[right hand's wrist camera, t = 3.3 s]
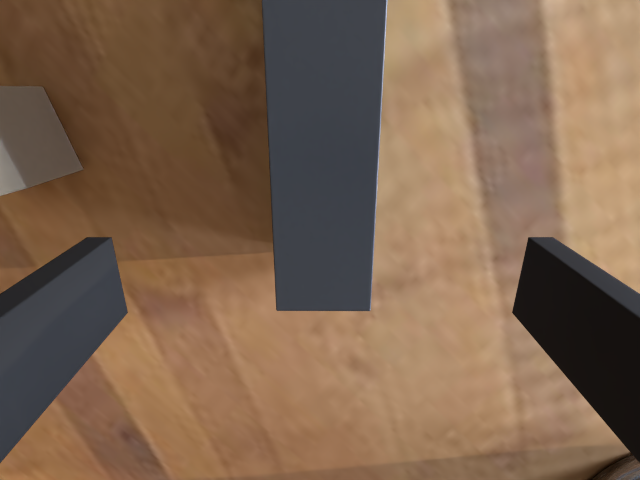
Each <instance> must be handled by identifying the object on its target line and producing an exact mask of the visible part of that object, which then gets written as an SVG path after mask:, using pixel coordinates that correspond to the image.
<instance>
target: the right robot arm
mask: <svg viewBox="0 0 640 480" xmlns="http://www.w3.org/2000/svg"><path fill="white" fill-rule="evenodd" d="M127 313H128V312H127V307H126V302H125V298H124V293H123V288H122V284H121V279H120V275H119V270H118V265H117V261H116V256H115V251H114V247H113V242H112V237H87V238H85V239H84V240H82V241H81V242H79V243H78V244H76V245H75V246H73V247H72V248H70V249H69V250H67V251H65V252H64V253H62V254H61V255H59V256H58V257H56V258H55V259H53V260H52V261H50V262H49V263H47V264H45V265H44V266H42V267H41V268H39V269H38V270H36V271H35V272H33V273H32V274H30V275H29V276H27V277H26V278H24V279H22V280H21V281H19V282H18V283H16V284H15V285H13V286H12V287H10V288H9V289H7V290H6V291H4V292H3V293H1V294H0V463H1V462H2V460H3V459H4V458H5V457H6V456H7V454H8V453H9V452H10V451H11V450H12V449H13V447H14V446H15V445H16V444H17V443H18V441H19V440H20V439H21V438H22V437H23V436H24V434H25V433H26V432H27V431H28V430H29V428H30V427H31V426H32V425H33V424H34V423H35V421H36V420H37V419H38V418H39V417H40V415H41V414H42V413H43V412H44V411H45V410H46V408H47V407H48V406H49V405H50V404H51V403H52V401H53V400H54V399H55V398H56V397H57V395H58V394H59V393H60V392H61V391H62V390H63V388H64V387H65V386H66V385H67V384H68V382H69V381H70V380H71V379H72V378H73V377H74V375H75V374H76V373H77V372H78V371H79V369H80V368H81V367H82V366H83V365H84V364H85V362H86V361H87V360H88V359H89V358H90V356H91V355H92V354H93V353H94V352H95V351H96V349H97V348H98V347H99V346H100V345H101V344H102V342H103V341H104V340H105V339H106V338H107V336H108V335H109V334H110V333H111V332H112V331H113V329H114V328H115V327H116V326H117V325H118V323H119V322H120V321H121V320H122V319H123V318H124V316H125V315H126V314H127ZM512 313H513V314H514V315H515V316H516V318H517V319H518V320H519V321H520V322H521V323H522V325H523V326H524V327H525V328H526V329H527V331H528V332H529V333H530V334H531V335H532V336H533V338H534V339H535V340H536V341H537V342H538V344H539V345H540V346H541V347H542V348H543V349H544V351H545V352H546V353H547V354H548V355H549V356H550V358H551V359H552V360H553V361H554V362H555V364H556V365H557V366H558V367H559V368H560V369H561V371H562V372H563V373H564V374H565V375H566V377H567V378H568V379H569V380H570V381H571V382H572V384H573V385H574V386H575V387H576V388H577V390H578V391H579V392H580V393H581V394H582V395H583V397H584V398H585V399H586V400H587V401H588V403H589V404H590V405H591V406H592V407H593V408H594V410H595V411H596V412H597V413H598V414H599V415H600V417H601V418H602V419H603V420H604V421H605V423H606V424H607V425H608V426H609V427H610V428H611V430H612V431H613V432H614V433H615V434H616V436H617V437H618V438H619V439H620V440H621V441H622V443H623V444H624V445H625V446H626V447H627V449H628V450H629V451H630V452H631V453H632V454H633V455H632V456H629V457H627V458H625V459H622V460H620V461H618V462H616V463H615V464H613V465H611V466H609V467H608V468H606V469H605V470H603V471H602V472H600V473H599V474H598V475H597V476H595V477H594V478H593V479H592V480H640V294H639V293H637V292H636V291H634V290H633V289H631V288H630V287H628V286H627V285H625V284H624V283H622V282H621V281H619V280H618V279H616V278H614V277H613V276H611V275H610V274H608V273H607V272H605V271H604V270H602V269H601V268H599V267H598V266H596V265H594V264H593V263H591V262H590V261H588V260H587V259H585V258H584V257H582V256H581V255H579V254H578V253H576V252H575V251H573V250H571V249H570V248H568V247H567V246H565V245H564V244H562V243H561V242H559V241H558V240H556V239H555V238H553V237H528V242H527V247H526V251H525V256H524V261H523V265H522V270H521V275H520V279H519V284H518V288H517V293H516V298H515V302H514V307H513V312H512Z"/></svg>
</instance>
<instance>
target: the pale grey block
mask: <svg viewBox="0 0 640 480" xmlns="http://www.w3.org/2000/svg"><path fill="white" fill-rule="evenodd" d="M81 170H83V167H82V165H81V163H80V161H79V159H78V157H77V155H76V153H75V151H74V149H73V147H72V145H71V143H70V141H69V139H68V137H67V135H66V133H65V131H64V129H63V127H62V125H61V122H60V120H59V118H58V116H57V114H56V112H55V110H54V108H53V106H52V104H51V102H50V100H49V98H48V96H47V94H46V92H45V90H44V88H43V87H40V86H0V196H2V195H5V194H9V193H12V192H16V191H19V190H23V189H27V188H30V187H33V186H36V185H39V184H42V183H45V182H48V181H51V180H54V179H57V178H60V177H63V176H66V175H69V174H72V173H75V172H78V171H81Z"/></svg>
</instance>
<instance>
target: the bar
mask: <svg viewBox="0 0 640 480" xmlns="http://www.w3.org/2000/svg"><path fill="white" fill-rule="evenodd" d="M262 15H263V36H264V57H265V78H266V100H267V121H268V142H269V163H270V185H271V206H272V227H273V248H274V270H275V291H276V310H277V311H370V309H371V291H372V273H373V254H374V236H375V218H376V199H377V181H378V163H379V145H380V126H381V108H382V90H383V71H384V53H385V35H386V16H387V0H262Z"/></svg>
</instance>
